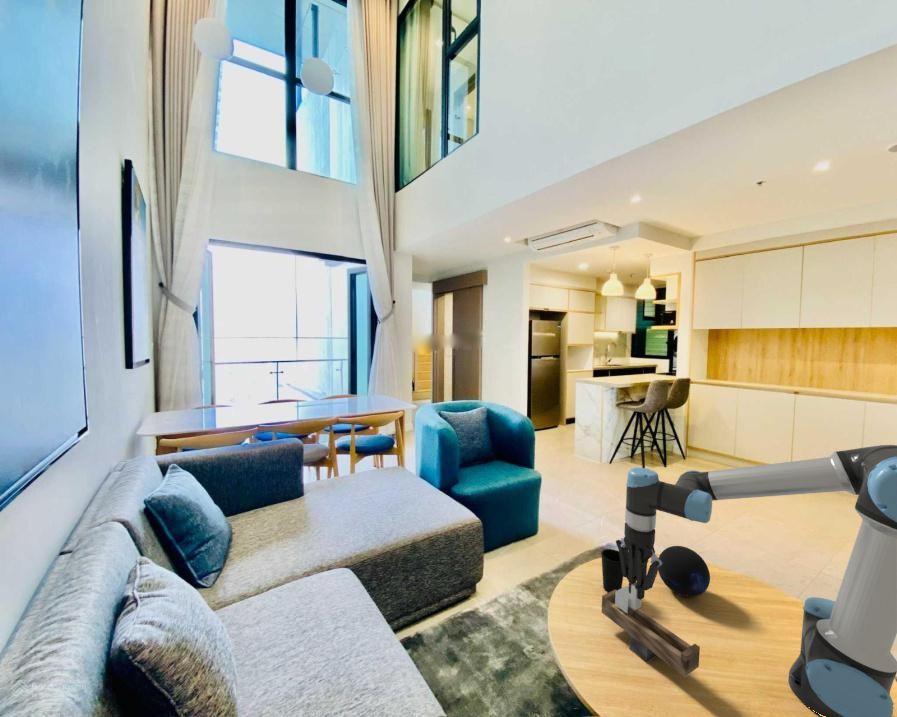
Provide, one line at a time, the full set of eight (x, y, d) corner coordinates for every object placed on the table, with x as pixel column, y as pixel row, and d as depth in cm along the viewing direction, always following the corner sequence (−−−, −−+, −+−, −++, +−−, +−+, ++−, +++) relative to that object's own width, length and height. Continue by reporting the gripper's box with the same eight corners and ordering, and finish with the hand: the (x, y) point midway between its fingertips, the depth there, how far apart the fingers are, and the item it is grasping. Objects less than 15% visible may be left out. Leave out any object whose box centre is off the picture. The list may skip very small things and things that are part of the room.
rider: (638, 616, 107) (639, 594, 107) (627, 622, 105) (628, 599, 104) (625, 607, 111) (626, 585, 110) (614, 613, 108) (615, 591, 108)
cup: (597, 590, 127) (598, 556, 126) (602, 579, 133) (604, 546, 133) (622, 600, 123) (623, 564, 122) (626, 587, 129) (627, 553, 128)
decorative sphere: (695, 614, 117) (698, 568, 116) (647, 587, 129) (649, 545, 128) (717, 596, 125) (719, 553, 124) (670, 572, 138) (672, 532, 137)
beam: (698, 681, 94) (700, 646, 94) (683, 693, 91) (685, 657, 90) (614, 617, 115) (615, 589, 114) (600, 625, 112) (601, 595, 111)
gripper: (671, 533, 100) (666, 617, 101) (627, 512, 111) (623, 588, 113) (654, 540, 96) (649, 627, 98) (610, 518, 107) (606, 596, 109)
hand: (635, 606), depth 105 cm, fingers closed
